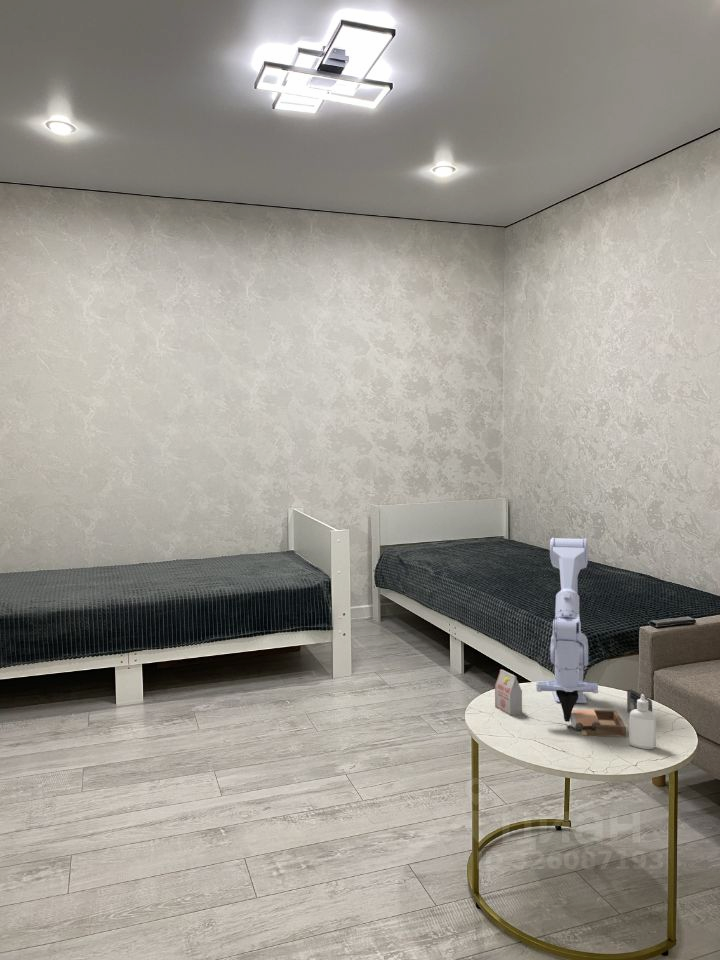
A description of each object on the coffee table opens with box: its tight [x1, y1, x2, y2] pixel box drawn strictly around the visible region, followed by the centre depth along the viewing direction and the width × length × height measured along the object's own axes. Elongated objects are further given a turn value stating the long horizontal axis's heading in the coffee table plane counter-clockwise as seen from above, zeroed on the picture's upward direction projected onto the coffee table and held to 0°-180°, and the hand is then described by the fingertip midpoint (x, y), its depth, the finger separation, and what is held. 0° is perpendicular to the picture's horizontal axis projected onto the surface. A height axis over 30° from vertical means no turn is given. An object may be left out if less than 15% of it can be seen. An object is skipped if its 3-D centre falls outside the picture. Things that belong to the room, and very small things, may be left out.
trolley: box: [570, 708, 600, 731], centre depth 183 cm, size 7×6×3 cm
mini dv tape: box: [626, 689, 653, 715], centre depth 188 cm, size 8×2×6 cm, turn 14°
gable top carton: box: [494, 669, 523, 716], centre depth 195 cm, size 4×7×10 cm, turn 24°
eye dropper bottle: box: [628, 693, 657, 750], centre depth 171 cm, size 4×6×12 cm
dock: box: [580, 709, 627, 738], centre depth 183 cm, size 11×10×2 cm
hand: (566, 720), depth 184 cm, fingers closed
